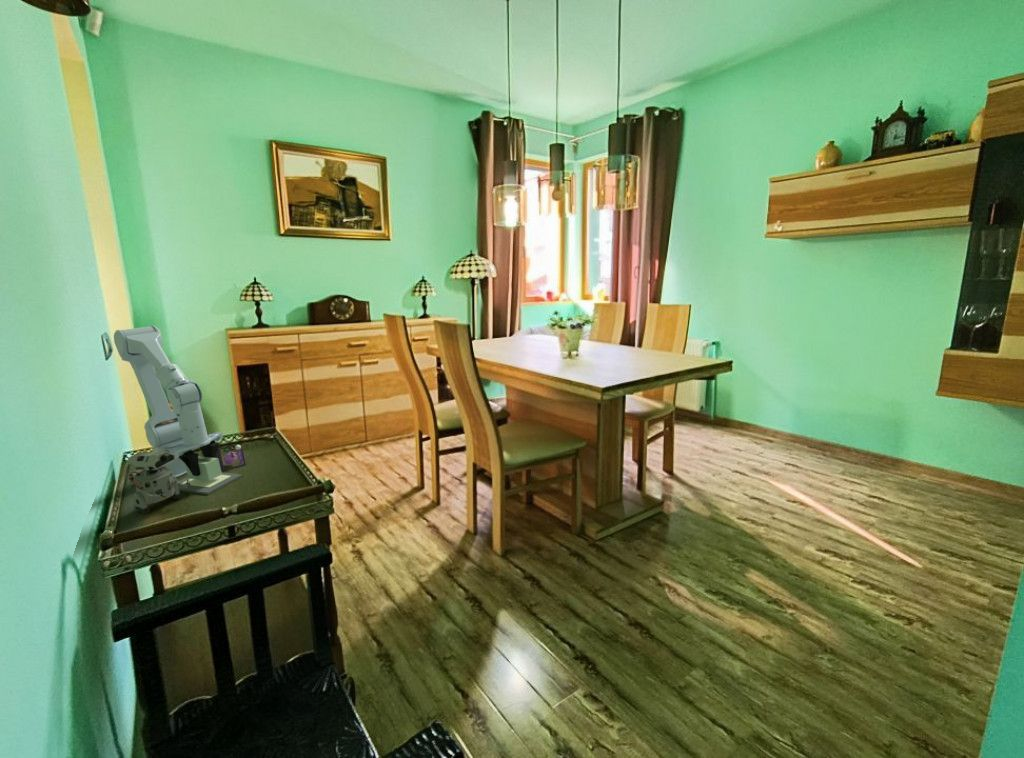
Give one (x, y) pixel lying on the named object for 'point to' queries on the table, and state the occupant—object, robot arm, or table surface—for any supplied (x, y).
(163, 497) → the figurine
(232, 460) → the game card
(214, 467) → the mint slotted box
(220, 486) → the mat
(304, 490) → the table surface
